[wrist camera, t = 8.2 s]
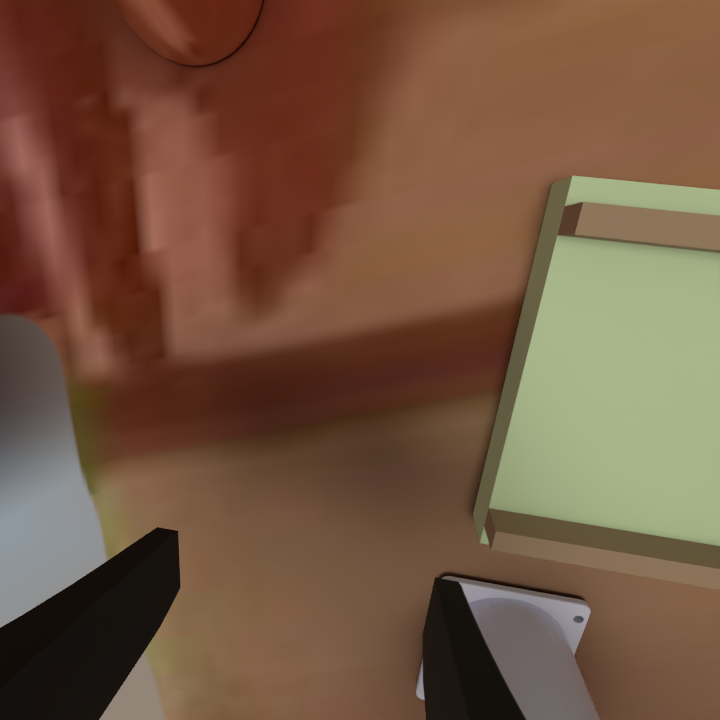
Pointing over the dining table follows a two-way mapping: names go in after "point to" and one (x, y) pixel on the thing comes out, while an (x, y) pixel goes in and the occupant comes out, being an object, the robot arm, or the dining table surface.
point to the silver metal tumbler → (190, 26)
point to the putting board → (614, 388)
